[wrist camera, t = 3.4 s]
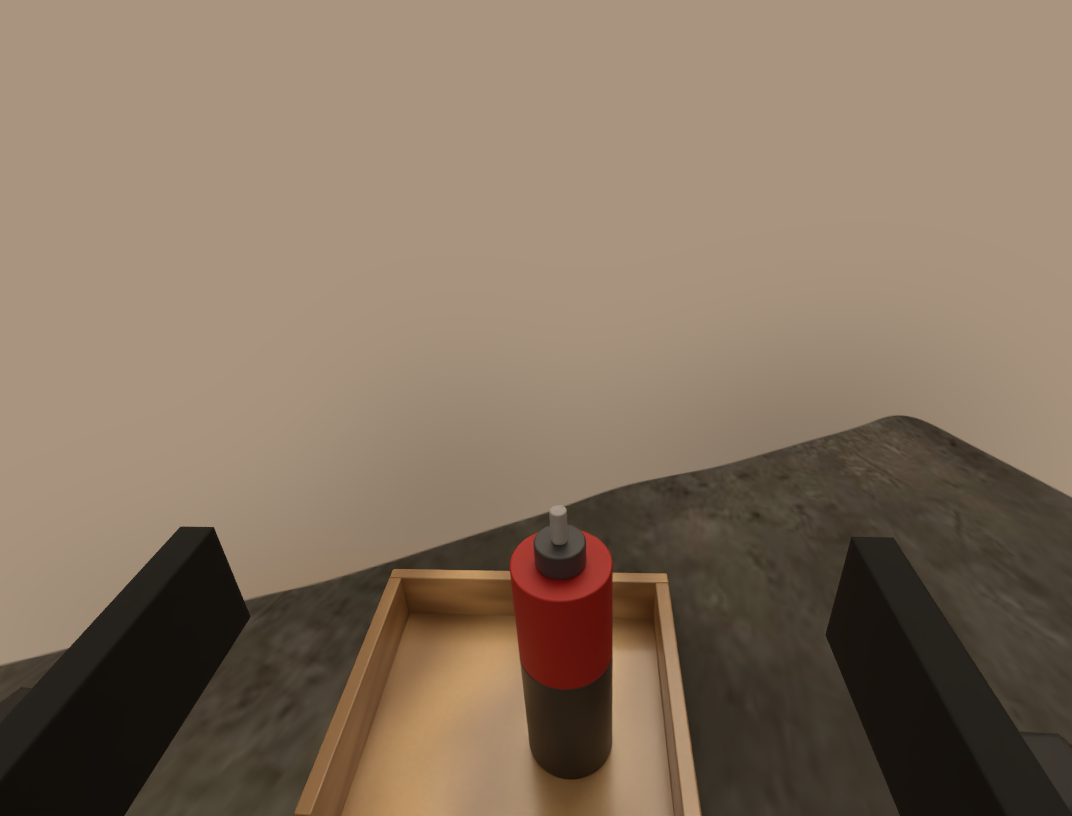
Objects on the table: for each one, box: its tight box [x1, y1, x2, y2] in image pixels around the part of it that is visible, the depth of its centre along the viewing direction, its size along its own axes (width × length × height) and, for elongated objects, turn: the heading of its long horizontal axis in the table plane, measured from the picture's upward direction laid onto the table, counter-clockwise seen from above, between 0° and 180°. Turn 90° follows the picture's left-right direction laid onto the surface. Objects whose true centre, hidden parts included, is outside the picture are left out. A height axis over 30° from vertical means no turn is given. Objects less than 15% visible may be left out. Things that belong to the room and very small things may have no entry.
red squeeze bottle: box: [510, 505, 613, 779], centre depth 28 cm, size 4×4×15 cm
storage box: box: [294, 569, 702, 816], centre depth 32 cm, size 18×16×4 cm
